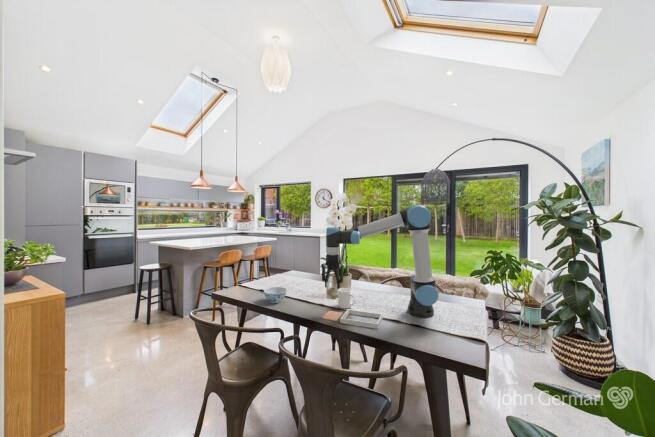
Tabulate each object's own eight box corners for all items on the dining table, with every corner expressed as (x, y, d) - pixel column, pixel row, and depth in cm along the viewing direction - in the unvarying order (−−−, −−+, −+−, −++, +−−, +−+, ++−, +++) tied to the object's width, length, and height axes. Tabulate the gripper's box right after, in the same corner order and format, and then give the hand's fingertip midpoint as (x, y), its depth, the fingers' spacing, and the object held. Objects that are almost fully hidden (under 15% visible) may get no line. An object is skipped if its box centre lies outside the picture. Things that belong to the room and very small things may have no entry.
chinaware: (276, 307, 173) (276, 295, 173) (259, 302, 181) (259, 291, 181) (291, 300, 186) (291, 289, 186) (274, 296, 194) (274, 285, 194)
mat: (343, 313, 163) (343, 312, 163) (336, 321, 152) (336, 320, 152) (329, 311, 166) (329, 310, 166) (321, 318, 155) (321, 318, 155)
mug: (350, 311, 166) (350, 293, 166) (335, 306, 174) (335, 290, 174) (358, 307, 173) (358, 290, 172) (343, 303, 181) (343, 287, 180)
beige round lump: (337, 296, 160) (337, 288, 160) (335, 299, 155) (335, 290, 155) (329, 295, 162) (329, 287, 162) (326, 298, 157) (326, 289, 157)
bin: (382, 318, 156) (382, 313, 156) (377, 328, 142) (377, 324, 142) (348, 313, 163) (348, 309, 163) (340, 322, 149) (340, 318, 149)
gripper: (349, 253, 158) (349, 293, 159) (320, 251, 164) (320, 290, 165) (345, 256, 151) (345, 297, 152) (315, 253, 157) (315, 293, 158)
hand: (332, 293), depth 158 cm, fingers closed on beige round lump, 5 cm apart
